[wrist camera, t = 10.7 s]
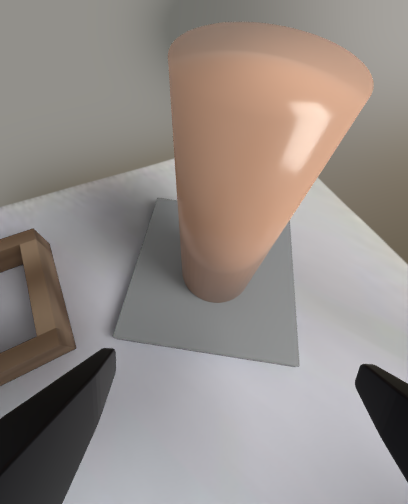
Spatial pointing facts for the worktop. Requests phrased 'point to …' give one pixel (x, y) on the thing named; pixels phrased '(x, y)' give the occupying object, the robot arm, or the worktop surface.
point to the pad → (208, 313)
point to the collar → (36, 305)
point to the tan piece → (252, 140)
